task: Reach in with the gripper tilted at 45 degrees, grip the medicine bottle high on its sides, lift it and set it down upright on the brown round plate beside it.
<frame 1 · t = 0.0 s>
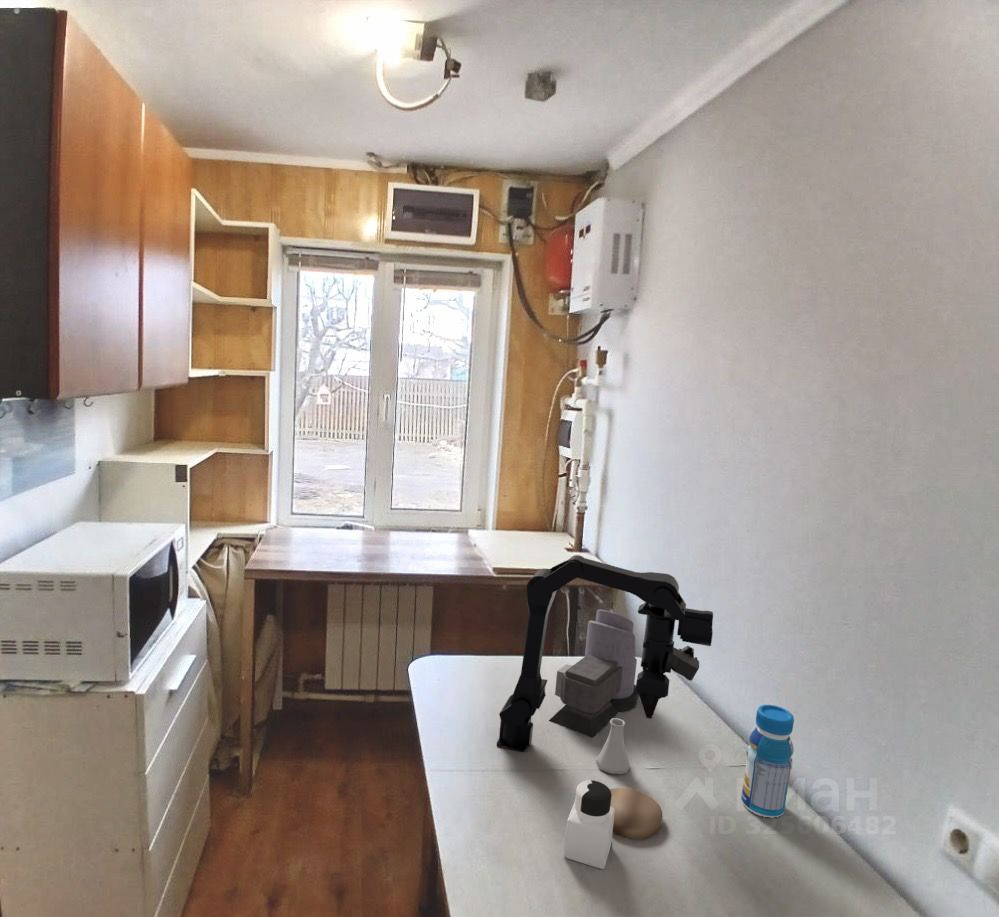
hand: (650, 707, 141), 15 cm above the table, tool pointing down, fingers open, 9 cm apart
flask: (612, 766, 145), on the table
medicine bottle: (587, 851, 119), on the table
beverage bottle: (762, 807, 135), on the table
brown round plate: (628, 817, 128), on the table
juicer: (596, 706, 171), on the table
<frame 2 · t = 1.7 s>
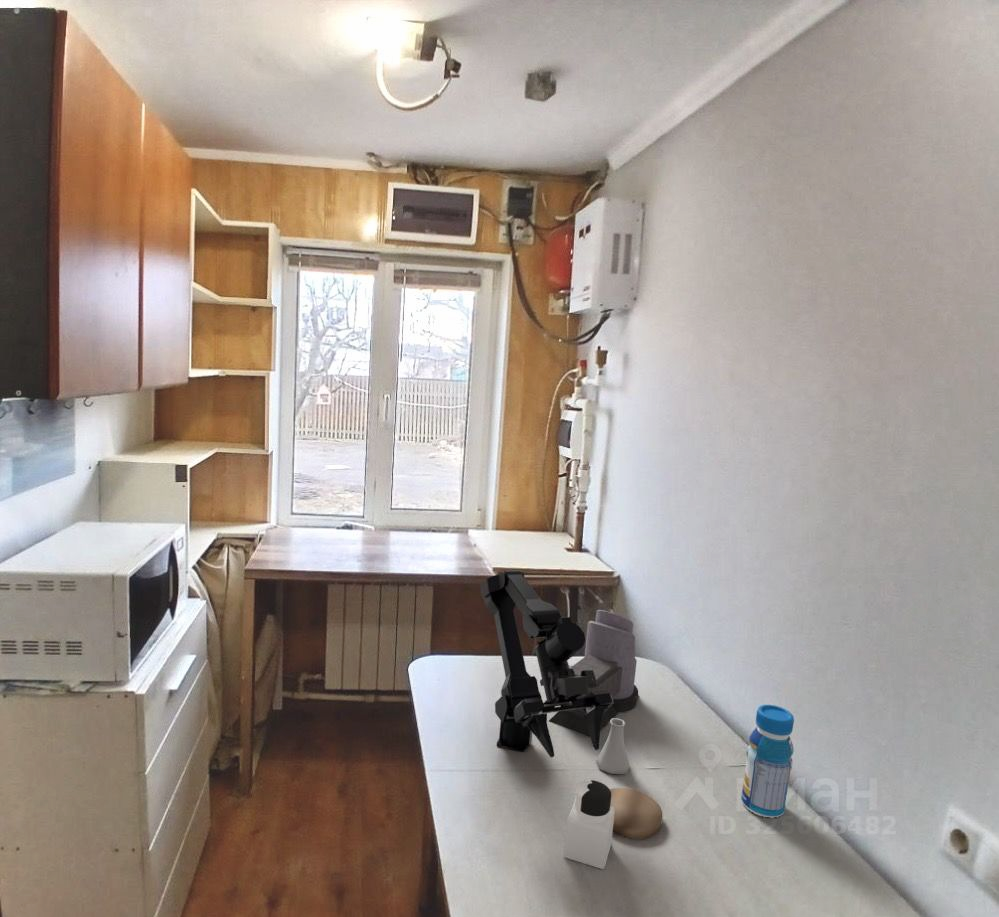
hand: (575, 753, 124), 13 cm above the table, tool tilted 45°, fingers open, 9 cm apart
nothing on the table moved.
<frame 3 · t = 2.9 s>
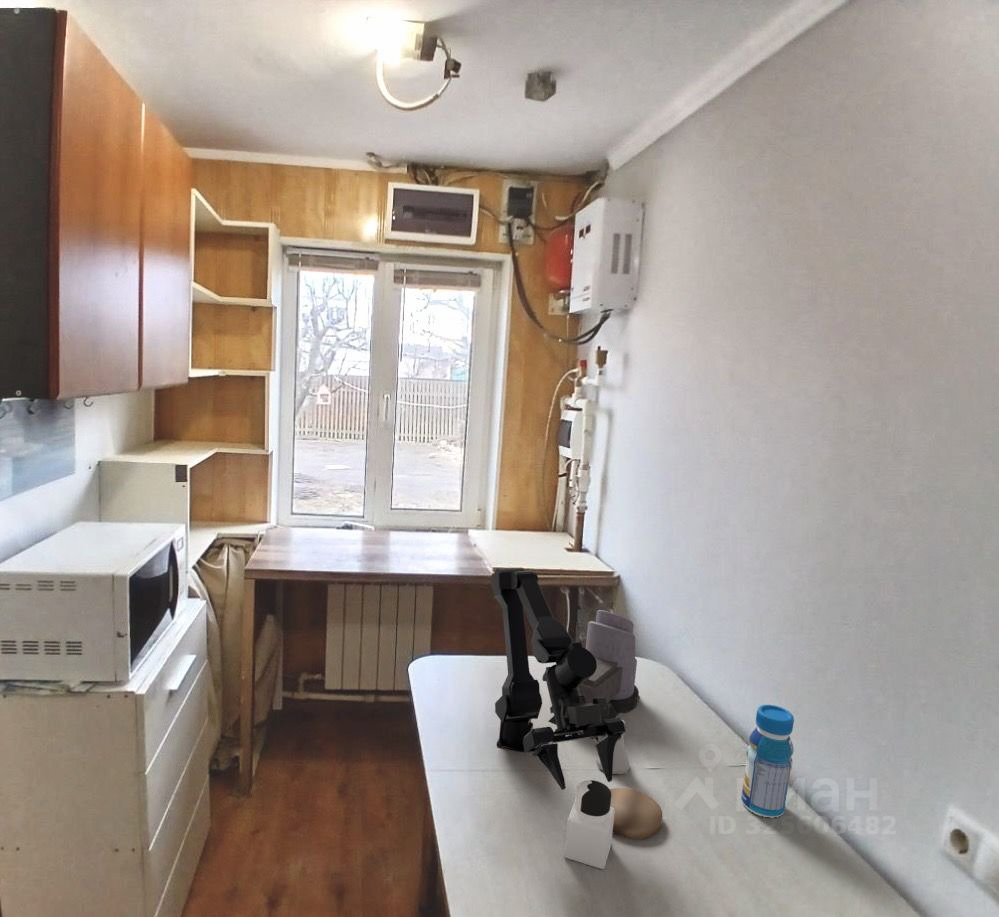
hand: (587, 785, 119), 11 cm above the table, tool tilted 45°, fingers open, 9 cm apart
nothing on the table moved.
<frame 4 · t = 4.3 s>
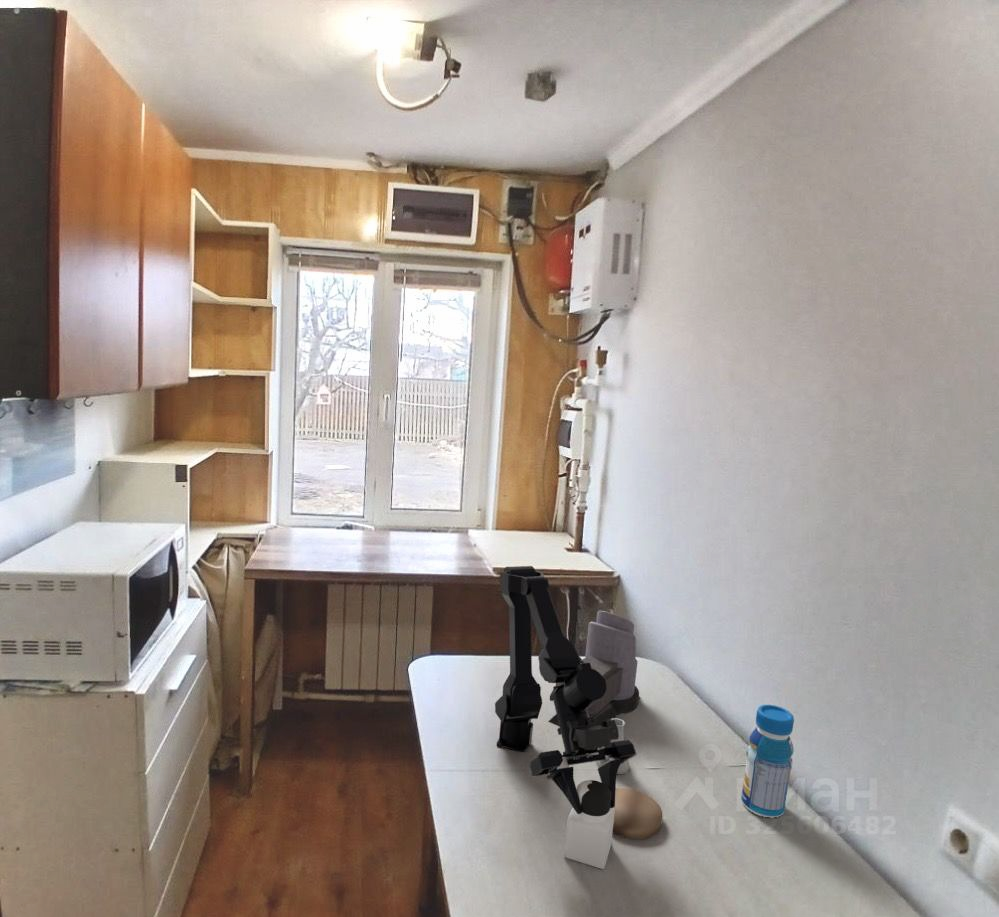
hand: (596, 810, 116), 9 cm above the table, tool tilted 45°, fingers closed on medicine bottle, 6 cm apart
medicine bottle: (587, 851, 119), on the table, touching gripper
everything else where it was.
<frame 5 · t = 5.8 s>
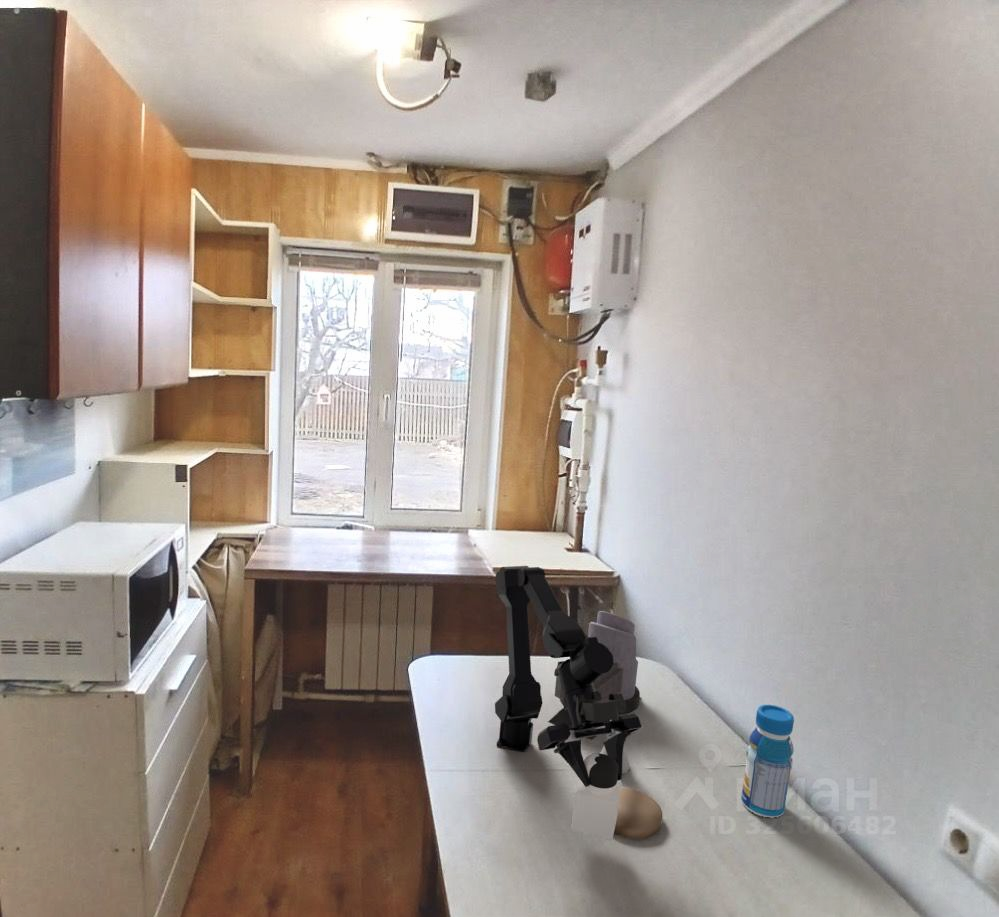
hand: (603, 783, 116), 13 cm above the table, tool tilted 45°, fingers closed on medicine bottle, 6 cm apart
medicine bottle: (594, 824, 119), point 4 cm above the table, touching gripper
everything else where it was.
when the fingers open (12 cm above the table, at t = 7.6 s): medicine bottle drops 1 cm, resting on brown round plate.
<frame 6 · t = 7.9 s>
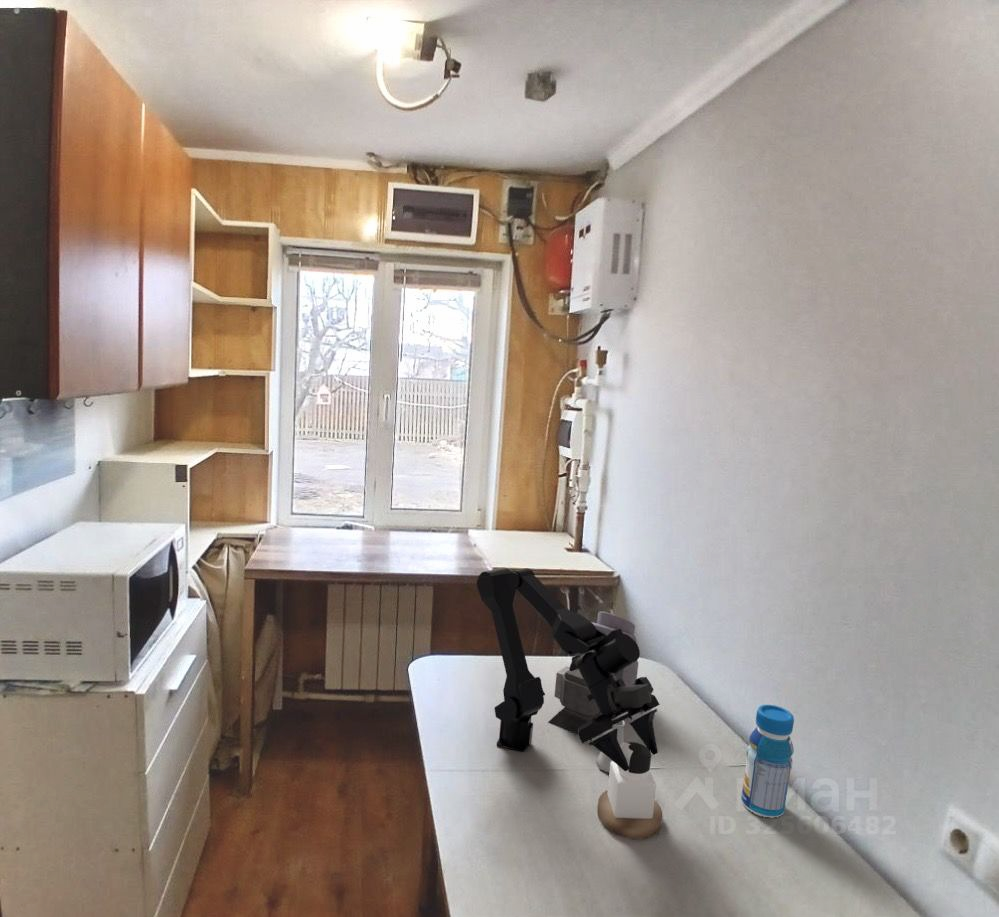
hand: (641, 761, 126), 12 cm above the table, tool tilted 45°, fingers open, 9 cm apart
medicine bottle: (629, 807, 128), point 2 cm above the table, touching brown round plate
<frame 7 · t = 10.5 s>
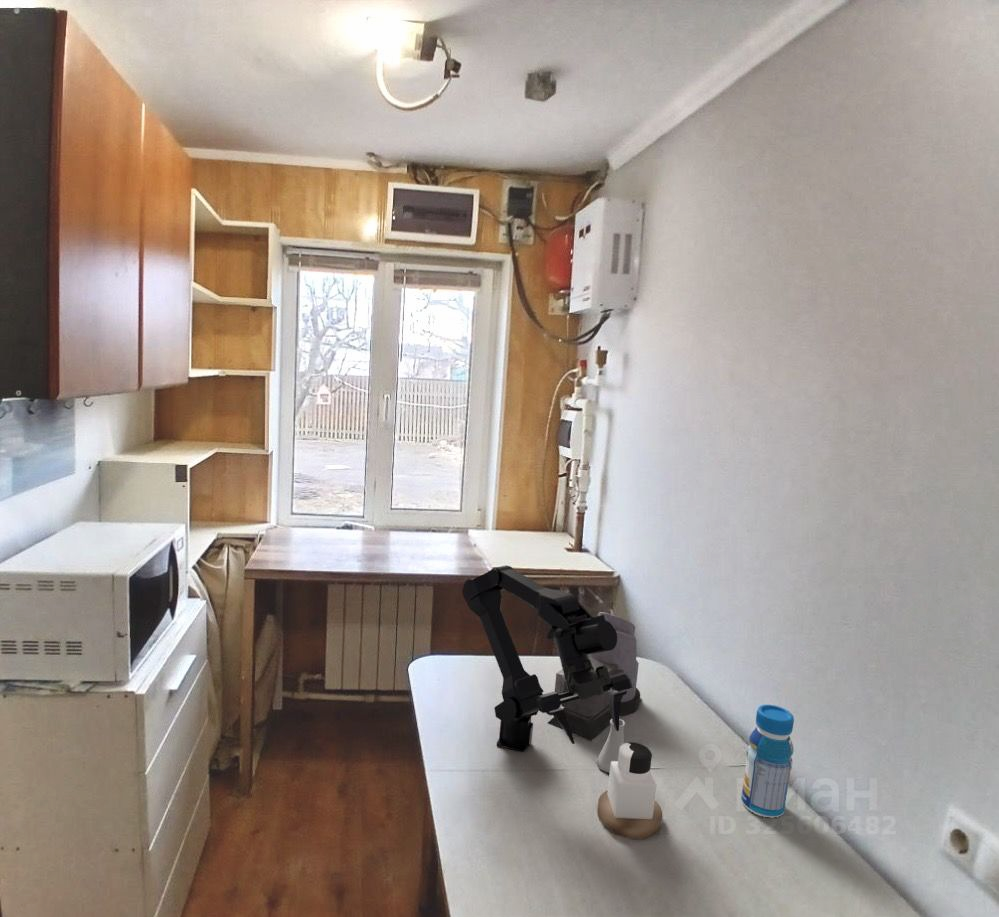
hand: (595, 737, 133), 12 cm above the table, tool tilted 30°, fingers open, 9 cm apart
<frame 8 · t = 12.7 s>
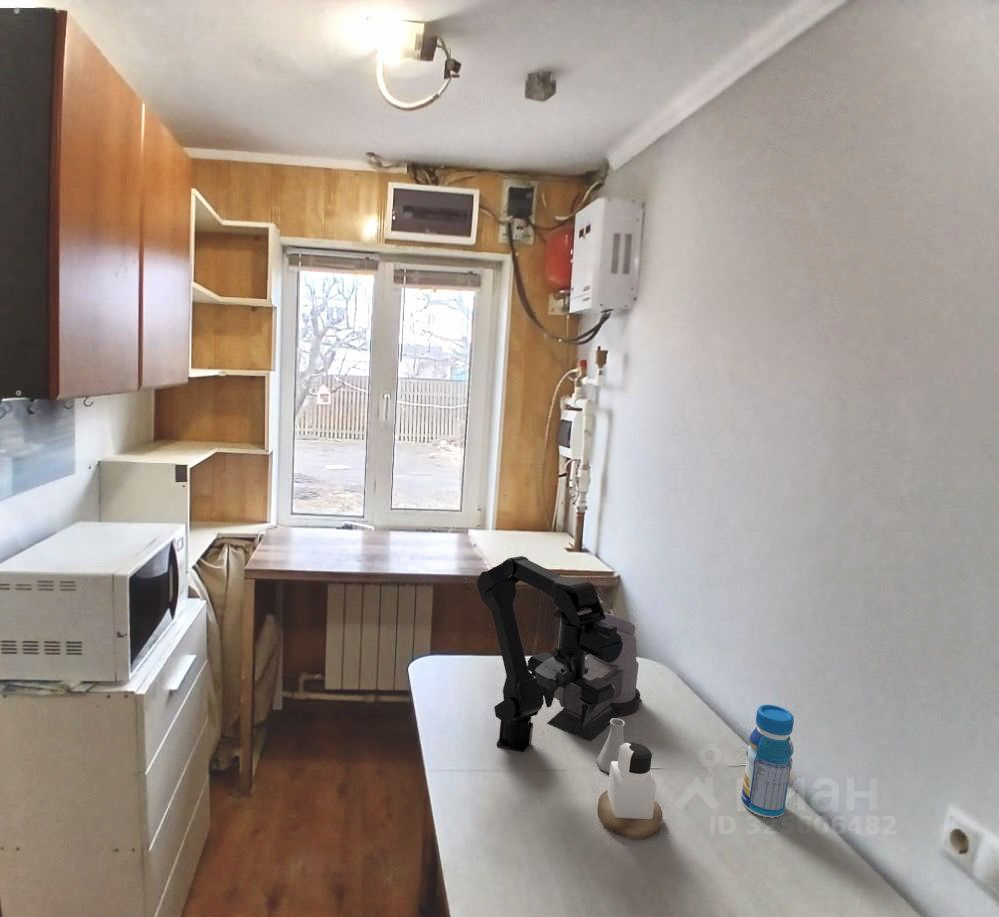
hand: (565, 716, 138), 13 cm above the table, tool pointing down, fingers open, 9 cm apart
at the end: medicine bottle 0.2 cm off-centre on the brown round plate, point 1.8 cm above the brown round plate's base; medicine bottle tilted 0°; the gripper is holding nothing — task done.
